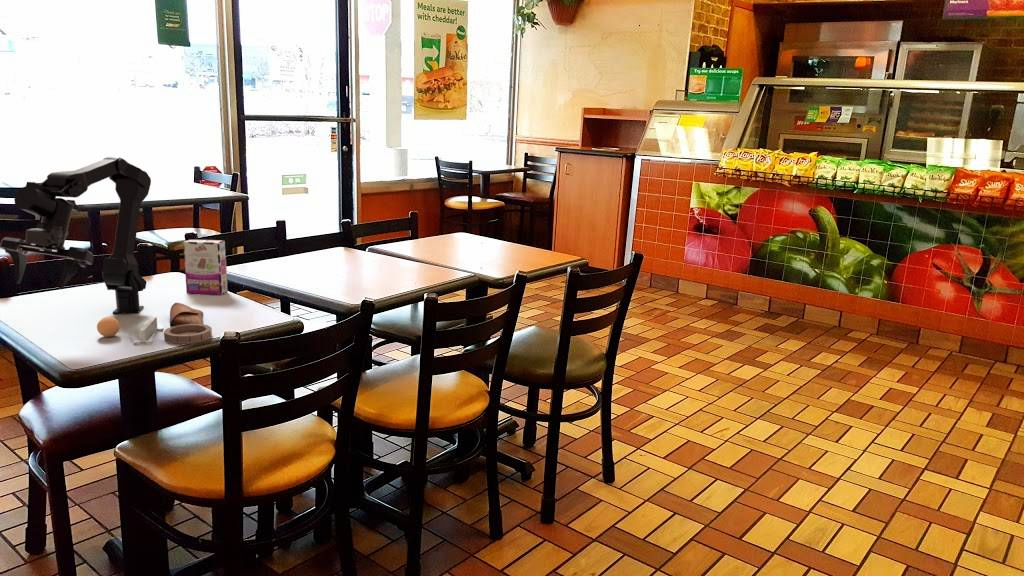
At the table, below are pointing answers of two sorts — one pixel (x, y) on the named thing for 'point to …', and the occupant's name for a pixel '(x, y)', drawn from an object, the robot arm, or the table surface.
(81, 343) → the table surface
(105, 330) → the ball
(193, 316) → the sunglasses case
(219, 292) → the candy bar box
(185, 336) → the saucer
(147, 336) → the divider
